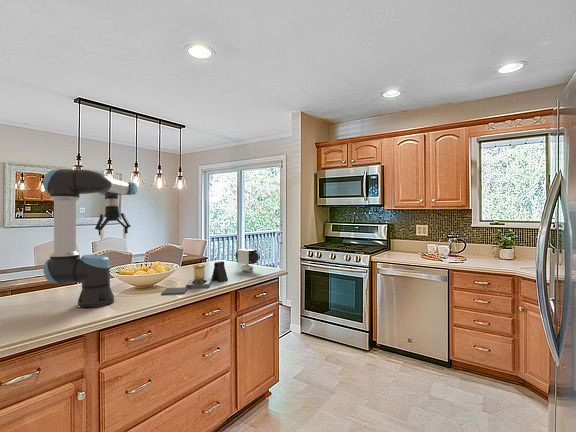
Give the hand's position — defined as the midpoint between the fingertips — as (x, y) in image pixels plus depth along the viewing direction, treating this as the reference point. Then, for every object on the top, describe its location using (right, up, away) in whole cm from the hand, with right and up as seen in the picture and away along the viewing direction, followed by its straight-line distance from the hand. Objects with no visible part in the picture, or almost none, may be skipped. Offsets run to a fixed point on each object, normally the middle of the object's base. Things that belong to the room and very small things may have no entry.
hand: (113, 239), depth 199 cm
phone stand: (+66, -27, +3) cm, 71 cm away
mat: (+47, -27, -24) cm, 60 cm away
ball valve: (+80, -26, +32) cm, 90 cm away
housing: (+57, -27, -9) cm, 63 cm away
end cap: (+57, -27, -9) cm, 63 cm away
